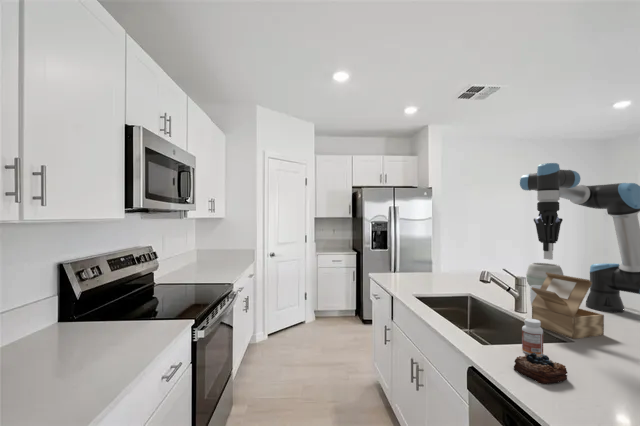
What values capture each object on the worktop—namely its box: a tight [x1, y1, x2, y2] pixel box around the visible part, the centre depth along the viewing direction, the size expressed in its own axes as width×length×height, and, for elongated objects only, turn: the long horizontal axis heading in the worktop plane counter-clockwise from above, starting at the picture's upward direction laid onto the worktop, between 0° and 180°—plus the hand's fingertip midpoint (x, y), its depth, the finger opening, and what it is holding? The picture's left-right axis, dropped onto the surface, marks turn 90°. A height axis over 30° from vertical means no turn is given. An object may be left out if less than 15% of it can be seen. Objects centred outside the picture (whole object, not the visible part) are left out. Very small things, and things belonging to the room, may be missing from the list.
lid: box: [530, 272, 592, 317], centre depth 137 cm, size 16×18×9 cm
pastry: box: [513, 353, 568, 385], centre depth 99 cm, size 11×12×6 cm
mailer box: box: [531, 306, 605, 340], centre depth 139 cm, size 16×18×8 cm
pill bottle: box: [521, 318, 544, 356], centre depth 115 cm, size 6×6×11 cm
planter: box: [525, 262, 564, 287], centre depth 172 cm, size 16×16×22 cm
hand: (548, 259), depth 137 cm, fingers closed
